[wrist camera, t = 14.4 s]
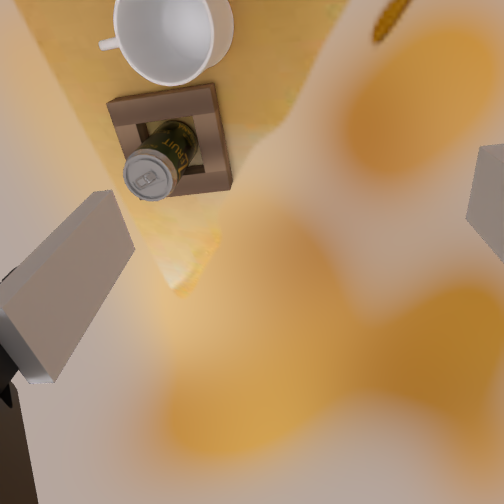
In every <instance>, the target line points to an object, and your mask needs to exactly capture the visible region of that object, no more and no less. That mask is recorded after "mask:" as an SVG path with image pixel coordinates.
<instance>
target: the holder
mask: <svg viewBox="0 0 504 504" xmlns="http://www.w3.org/2000/svg"><path fill="white" fill-rule="evenodd" d="M106 105H107V108H108V110H109V113H110V116H111V119H112V122H113V125H114V128H115V130H116V133H117V136H118V139H119V142H120V145H121V148H122V150H123V153H124V156H125V159H126V161H127V158H128V157H129V156H130V155H131V154H132V153H133V152H134V151H135V150H136V149H137V148H138V147H139V146H140V145H141V144H142V143H143V142H144V141H145V140H146V139H147V138H148V137H149V134H148V130H147V127H146V124H145V123H146V122H153V121H160V120H167V119H174V118H180V117H187V116H193V121H194V125H195V129H196V134H197V138H198V142H199V147H200V151H201V155H202V160H203V164H204V165H198V166H190V167H187V169H186V170H185V172H184V174H183V176H182V177H181V179H180V181H179V182H178V184H177V186H176V187H175V189H174V191H173V192H172V193H171V194H170V195H168V196H167V197H173V196H182V195H190V194H199V193H208V192H217V191H226V190H230V189H231V185H232V182H233V178H232V173H231V168H230V163H229V158H228V152H227V147H226V142H225V137H224V131H223V126H222V121H221V116H220V110H219V105H218V100H217V95H216V89H215V84H214V83H209V84H203V85H196V86H190V87H183V88H177V89H171V90H164V91H158V92H151V93H145V94H138V95H132V96H125V97H119V98H115V99H113V100H112V101H110V102H108V103H106ZM139 199H140V200H142V199H141V198H139Z"/></svg>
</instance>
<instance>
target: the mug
mask: <svg viewBox="0 0 504 504" xmlns="http://www.w3.org/2000/svg"><path fill="white" fill-rule="evenodd" d="M113 23H114V31H115V36H116V37H113V38H109V39H105V40H101V41H99V47H100V49H101V50H102V51H105V50H110V49H115V48H120V50H121V52H122V54H123V55H124V57H125V59H126V60H127V62H128V63H129V64H130V65H131V67H132V68H133V69H134V70H135V71H136V72H137V73H139V74H140V75H141V76H142V77H144V78H145V79H147V80H149V81H151V82H153V83H156V84H159V85H164V86H178V85H182V84H185V83H188V82H190V81H191V80H193V79H194V78H196V77H197V76H198V75H200V74H201V73H202V72H203V71H204V70H206V69H207V68H209V67H212V66H214V65H215V64H217V63H218V62H219V61H220V60H221V59H222V58H223V57H224V56H225V55H226V53H227V51H228V50H229V48H230V45H231V42H232V39H233V33H234V19H233V14H232V10H231V7H230V4H229V2H228V0H116V2H115V6H114V14H113Z"/></svg>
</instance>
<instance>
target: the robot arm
mask: <svg viewBox="0 0 504 504" xmlns="http://www.w3.org/2000/svg"><path fill="white" fill-rule="evenodd" d="M466 220H467V221H468V222H469V223H470V225H471V226H472V227H473V228H474V229H475V230H476V231H477V233H478V234H479V235H480V236H481V237H482V239H483V240H484V241H485V242H486V243H487V244H488V246H489V247H490V248H491V249H492V250H493V251H494V253H495V254H496V255H497V256H498V257H499V258H500V260H501V261H502V262H503V263H504V144H497V145H488V146H481V147H480V148H479V152H478V158H477V163H476V168H475V174H474V179H473V184H472V189H471V194H470V199H469V205H468V210H467V215H466ZM134 250H135V247H134V245H133V242H132V240H131V237H130V235H129V232H128V229H127V227H126V224H125V222H124V220H123V217H122V214H121V211H120V209H119V206H118V204H117V201H116V199H115V196H114V193H113V191H112V190H105V191H97V192H93V193H92V194H91V195H90V196H89V197H88V198H87V199H86V200H85V201H84V202H83V203H82V204H81V205H80V206H79V207H78V208H77V209H76V210H75V211H74V212H73V213H72V214H71V215H70V216H69V217H68V218H67V219H66V220H65V221H64V222H63V223H62V224H61V225H60V226H58V228H56V229H55V230H54V231H53V232H52V233H51V234H50V235H49V236H48V237H47V238H46V240H44V241H43V242H42V243H41V244H40V245H39V246H38V247H37V248H36V249H35V250H34V251H33V252H32V253H31V254H30V255H29V256H28V257H27V258H26V259H25V260H24V261H23V262H22V263H21V264H20V265H19V266H18V267H16V268H14V269H13V270H12V271H11V272H10V273H9V274H8V275H7V276H6V277H5V278H4V279H2V282H1V283H0V504H38V499H37V493H36V488H35V483H34V477H33V472H32V467H31V461H30V456H29V451H28V445H27V440H26V435H25V429H24V424H23V419H22V413H21V408H20V403H19V397H18V392H17V389H16V387H15V386H14V384H13V383H12V382H11V379H12V378H13V377H14V375H15V374H16V372H17V371H18V370H19V371H20V372H21V373H22V375H23V376H24V377H25V379H26V380H27V381H28V383H29V384H34V383H55V381H56V380H57V378H58V376H59V374H60V373H61V371H62V370H63V368H64V366H65V365H66V363H67V361H68V360H69V358H70V356H71V355H72V353H73V351H74V350H75V348H76V346H77V345H78V343H79V342H80V340H81V338H82V337H83V335H84V333H85V332H86V330H87V328H88V327H89V325H90V323H91V322H92V320H93V318H94V317H95V315H96V313H97V312H98V310H99V308H100V307H101V305H102V303H103V302H104V300H105V299H106V297H107V295H108V294H109V292H110V290H111V289H112V287H113V285H114V284H115V282H116V280H117V279H118V277H119V275H120V274H121V272H122V270H123V269H124V267H125V265H126V264H127V262H128V261H129V259H130V257H131V256H132V254H133V252H134Z"/></svg>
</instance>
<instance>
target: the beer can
mask: <svg viewBox="0 0 504 504" xmlns="http://www.w3.org/2000/svg"><path fill="white" fill-rule="evenodd" d="M196 150H197V141H196V137H195V135H194V133H193V132H192V130H191V129H190V128H189V127H188V126H186V125H185V124H183V123H181V122H177V121H168V122H165V123H163V124H162V125H160V126H159V127H158V128H157V129H156V130H155V131H154V132H153V133H152V134H151V135H150V136H149V137H148V138H147V139H146V140H145V141H144V142H143V143H142V144H141V145H140V146H139V147H138V148H137V149H136V150H135V151H134V152H133V153H132V154H131V155H130V156H129V157H128V158H127V161H126V163H125V167H124V169H123V177H124V181H125V184H126V185H127V187H128V189H129V190H130V191H131V192H132V193H133V194H134V195H135V196H137V197H139V198H141V199H142V200H146V201H159V200H161V199H164V198H165V197H167V196H168V195H170V194H171V193H172V192H173V191H174V189H175V187H176V186H177V184H178V182H179V181H180V179H181V177H182V176H183V174H184V172H185V170H186V169H187V167H188V165H189V164H190V162H191V160H192V159H193V157H194V155H195V153H196Z"/></svg>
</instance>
